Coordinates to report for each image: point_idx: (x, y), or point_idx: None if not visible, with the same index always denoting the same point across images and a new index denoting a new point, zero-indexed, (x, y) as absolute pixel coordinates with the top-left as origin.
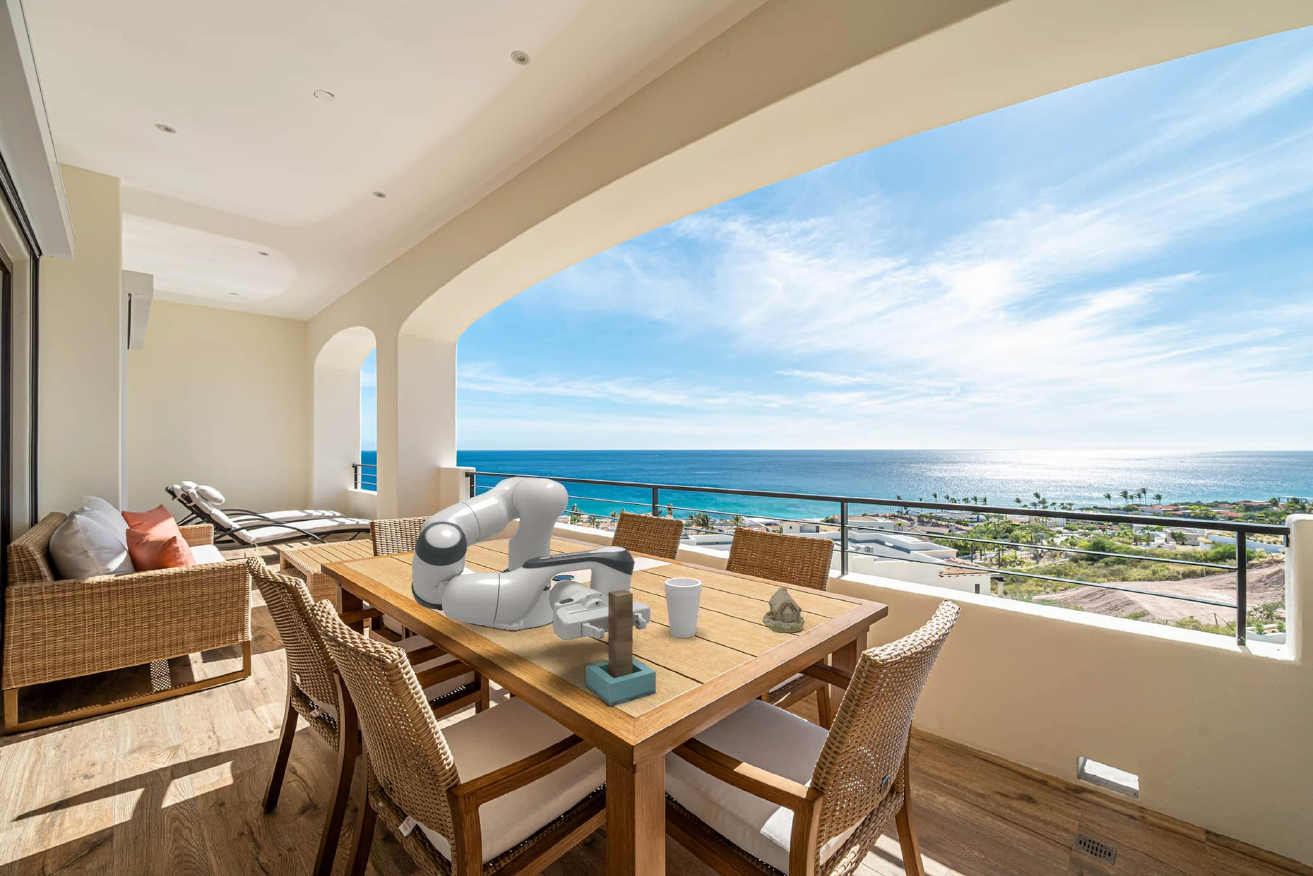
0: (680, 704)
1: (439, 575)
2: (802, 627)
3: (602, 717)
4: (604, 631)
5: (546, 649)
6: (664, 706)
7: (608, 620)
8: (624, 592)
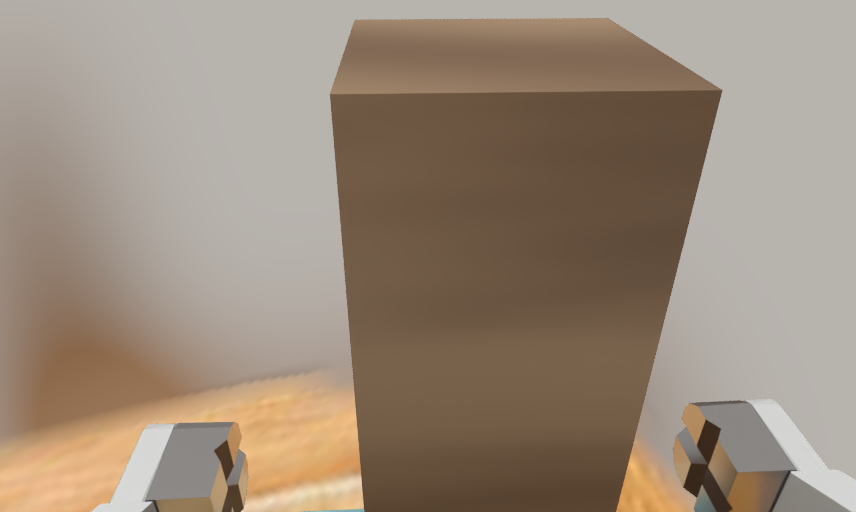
0: (286, 443)
1: None
2: None
3: (643, 503)
4: (684, 410)
5: None
6: (353, 459)
7: (618, 493)
8: (433, 42)
